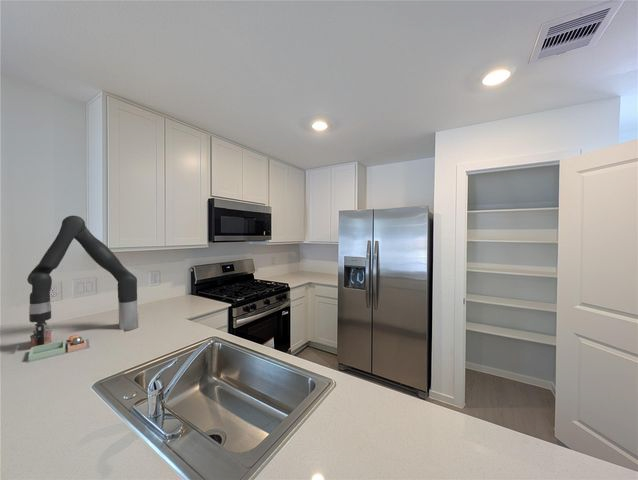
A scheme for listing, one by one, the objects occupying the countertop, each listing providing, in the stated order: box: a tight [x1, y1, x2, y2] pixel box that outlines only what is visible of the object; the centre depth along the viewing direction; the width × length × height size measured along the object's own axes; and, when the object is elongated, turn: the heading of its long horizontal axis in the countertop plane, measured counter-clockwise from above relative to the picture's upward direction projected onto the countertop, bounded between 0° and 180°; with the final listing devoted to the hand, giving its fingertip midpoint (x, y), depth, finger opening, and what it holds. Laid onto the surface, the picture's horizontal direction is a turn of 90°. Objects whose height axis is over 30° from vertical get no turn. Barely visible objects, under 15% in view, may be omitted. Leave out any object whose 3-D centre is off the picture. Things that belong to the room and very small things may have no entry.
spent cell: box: [73, 336, 82, 345], centre depth 126 cm, size 3×3×6 cm
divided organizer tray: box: [25, 336, 90, 364], centre depth 124 cm, size 21×14×4 cm, turn 135°
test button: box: [68, 334, 80, 342], centre depth 130 cm, size 4×4×4 cm
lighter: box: [29, 325, 52, 348], centre depth 128 cm, size 8×3×10 cm, turn 168°
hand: (41, 342), depth 128 cm, fingers open, 6 cm apart
